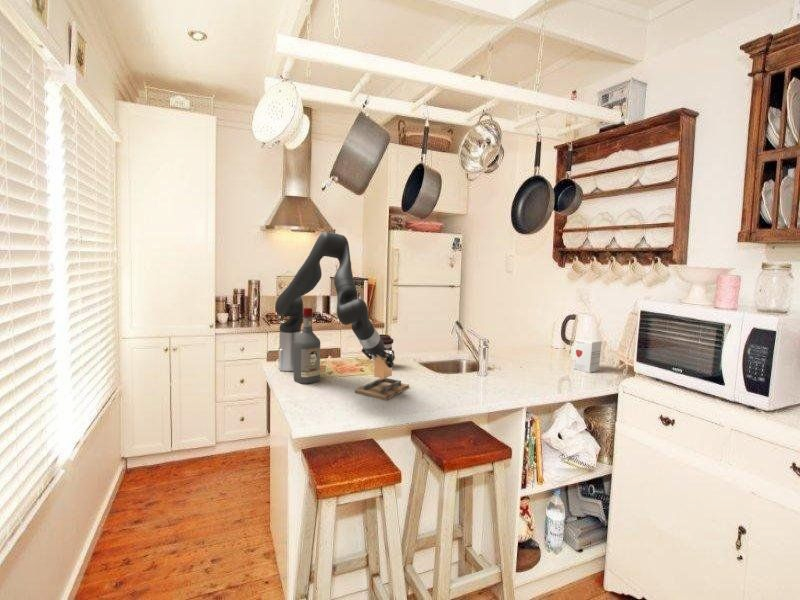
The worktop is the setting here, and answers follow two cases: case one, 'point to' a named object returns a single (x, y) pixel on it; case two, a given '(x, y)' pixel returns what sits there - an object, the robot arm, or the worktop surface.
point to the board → (382, 388)
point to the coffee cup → (386, 342)
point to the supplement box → (587, 355)
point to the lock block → (382, 368)
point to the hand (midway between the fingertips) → (385, 364)
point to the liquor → (307, 352)
